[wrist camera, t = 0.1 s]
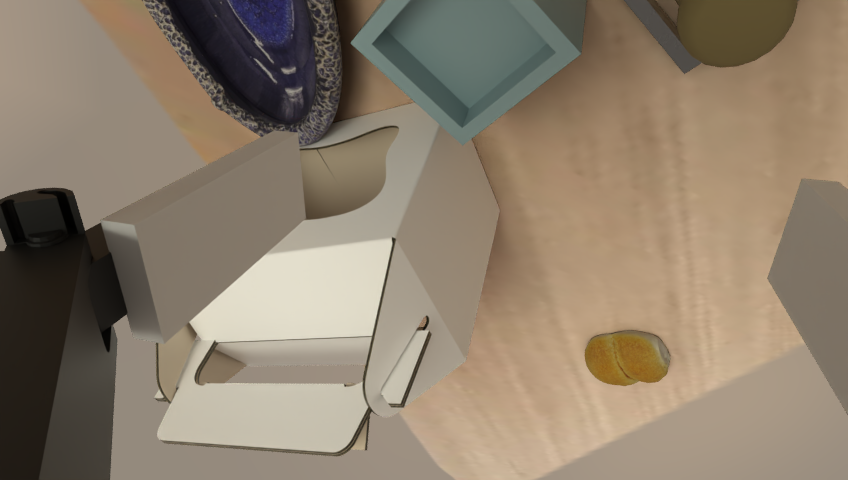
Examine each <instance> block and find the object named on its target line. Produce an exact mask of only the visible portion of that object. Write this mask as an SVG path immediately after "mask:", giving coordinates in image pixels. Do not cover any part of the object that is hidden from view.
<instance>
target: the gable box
mask: <svg viewBox="0 0 848 480" xmlns="http://www.w3.org/2000/svg"><path fill="white" fill-rule="evenodd" d="M299 149H300V160H301V170H302V181H303V192H304V203H305V213H306V219H305V220H304V221H303V222H301V223H300V224H299V225H298V226H297V227H296V228H295V229H294V230H292V231H291V232H290V233H289V234H288V235H287V236H286V237H285V238H283V239H282V240H281V241H280V242H279V243H278V244H277V245H276V246H274V247H273V248H272V249H271V250H270V251H269V252H268V253H266V254H265V255H264V256H263V257H262V258H261V259H260V260H259V261H257V262H256V263H255V264H254V265H253V266H252V267H251V268H250V269H248V270H247V271H246V272H245V273H244V274H243V275H242V276H241V277H239V278H238V279H237V280H236V281H235V282H234V283H233V284H232V285H230V286H229V287H228V288H227V289H226V290H225V291H224V292H223V293H221V294H220V295H219V296H218V297H217V298H216V299H215V300H213V301H212V302H211V303H210V304H209V305H208V306H207V307H206V308H204V309H203V310H202V311H201V312H200V313H199V314H198V315H197V316H195V317H194V318H193V319H192V320H191V321H190V322H189V323H188V324H186V325H185V326H184V327H183V328H182V329H181V330H180V331H179V332H177V333H176V334H175V335H174V336H173V337H172V338H171V339H169V340H168V341H167V342H166V343H165V344H161V343H156V376H157V383H158V387H159V391H158V392H157V394H156V396H155V399H156V400H157V401H165V402H166V401H167V402H169V403H170V406H169V408H168V410H167V412H166V414H165V416H164V418H163V420H162V422H161V425H160V426H159V429H158V432H157V436H158V438H159V439H160V440H161V441H163V442H164V443H167V444H180V445H193V446H206V447H220V448H233V449H246V450H260V451H272V452H286V453H299V454H312V455H325V456H341V455H343V454H345V453H347V452H348V451H349V450H350V449H355V450H367V442H368V431H369V419H370V413H371V411H372V412H373V413H375V414H376V415H379V416H381V417H390V416H393V415H395V414H396V413H398V412H399V411H400V410H402V409H403V408H404V407H406V406H407V405H408V404H410V403H411V402H412V401H414V400H415V399H416V398H418V397H419V396H420V395H422V394H423V393H424V392H426V391H427V390H428V389H430V388H431V387H432V386H433V385H435V384H436V383H437V382H439V381H440V380H441V379H443V378H444V377H445V376H447V375H448V374H449V373H451V372H452V371H453V370H455V369H456V368H457V367H459V366H460V365H461V364H463V363H464V362H465V361H466V359H467V355H468V350H469V346H470V341H471V337H472V333H473V328H474V324H475V319H476V315H477V310H478V306H479V302H480V297H481V293H482V288H483V284H484V279H485V275H486V271H487V266H488V262H489V257H490V253H491V248H492V244H493V240H494V235H495V231H496V226H497V222H498V217H499V213H500V209H499V206H498V204H497V201H496V199H495V196H494V194H493V191H492V189H491V186H490V184H489V181H488V179H487V176H486V174H485V171H484V169H483V166H482V164H481V161H480V159H479V156H478V154H477V151H476V149H475V146H474V144H473V141H472V139H471V140H469V141H468V142H467V143H465V144H464V145H463V146H462V145H461V144H460V143H459V142H458V141H457V140H456V139H455V138H454V137H452V136H451V135H450V134H449V133H448V132H447V131H446V130H445V129H444V128H443V127H441V126H440V125H439V124H438V123H437V122H436V121H435V120H434V119H433V118H432V117H431V116H429V115H428V114H427V113H426V112H425V111H424V110H423V109H422V108H421V107H420V106H419V105H417V104H416V103H415V102H414V103H410V104H407V105H403V106H399V107H395V108H391V109H387V110H383V111H379V112H375V113H371V114H367V115H363V116H359V117H355V118H351V119H347V120H343V121H339V122H335V123H331V125H330V127H329V129H328V130H327V132H326V133H325V134H324V135H323V136H322V137H321V138H320V139H319V140H318V141H316V142H314V143H312V144H310V145H307V146H301V147H299ZM424 316H426V318H427V321H426V324H425V326H424V327H419V328H418V326H419V324H420V323H421V321H422V319H423V318H424ZM196 335H198V336H199V337H200V339H201V340H197V341H194V340H195V338H196ZM246 365H248V366H300V365H366V366H365V370H364V375H363V381H362V382H361V383H359V384H354V383H347V384H346V385H345V384H243V383H242V384H241V383H239V384H238V383H225V382H226V381H228V380H229V379H230V378H231V377H233V376H234V375H235V374H236V373H238V372H239V371H240V370H241V369H243V368H244V367H245V366H246ZM381 393H382V395H381Z"/></svg>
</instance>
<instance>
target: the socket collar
mask: <svg viewBox="0 0 848 480" xmlns="http://www.w3.org/2000/svg"><path fill="white" fill-rule="evenodd" d="M624 1H625V2H626V3H627V5H628V6H629V7H630V8H631V10H632V11H633V12H634V13H635V14H636V16H637V17H638V18H639V19H640V21H641V22H642V23H643V24H644V25H645V27H646V28H647V29H648V30H649V31H650V33H651V34H652V35H653V36H654V38H655V39H656V40H657V41H658V42H659V44H660V45H661V46H662V47H663V49H664V50H665V51H666V52H667V53H668V55H669V56H670V57H671V58H672V59H673V61H674V62H675V63H676V64H677V66H678V67H679V68H680V69H681V70H682V72H683V73H684V74H685V73H687V72H688V71H690V70H691V69H693V68H694V67H696V66H698V65H699V64H701V63H702V62H700V61H698V60H697V59H695V58H693V57H692V56H691V55H690V54H689V53H688V51H687V50H686V49H685V47H684V46H683V45H682V44H681V41H680V37H679V33H678V30H677V27H676V26H675V24H674V23H673V22H672V21H671V19H670V18H669V17H668V16H667V14H666V13H665V12H664V11H663V9H662V8H661V7H660V6H659V4H658V3H657V2H656V0H624Z"/></svg>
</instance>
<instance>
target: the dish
mask: <svg viewBox="0 0 848 480" xmlns="http://www.w3.org/2000/svg"><path fill="white" fill-rule="evenodd" d="M142 1H143V3H144V4H145V6H146V7H147V9H148V11H149V12H150V14H151V16H152V17H153V19H154V20H155V22H156V23H157V25H158V26H159V28H160V29H161V31H162V32H163V34H164V35H165V37H166V38H167V39H168V41H169V42H170V44H171V45H172V47H173V48H174V49H175V51H176V52H177V53H178V55H179V56H180V58H181V59H182V60H183V62H184V63H185V64H186V66H187V67H188V68H189V70H190V71H191V72H192V74H193V75H194V76H195V78H196V79H197V80H198V82H199V83H200V84H201V86H202V87H203V88H204V90H205V91H206V92H207V93H208V95H209V96H210V97H211V102H212V104H213V105H214V106H215V107H216V108H217V109H219V110H221V111H224V112H226V113H227V114H228V115H230V116H231V117H232V118H234V119H235V120H237V121H238V122H239V123H241V124H242V125H244V126H245V127H247V128H248V129H250V130H251V131H253V132H254V133H256V134H258V135H259V136H261V137H263V136H265V135H267V134H268V133H270V132H272V131H274V130H275V131H286V132H297V133H298V138H299V147H301V146H307V145H310V144H312V143H314V142H316V141H318V140H319V139H320V138H321V137H322V136H323V135H324V134H325V133H326V132H327V130H328V129H329V127H330V125H331V123H332V122H333V120H334V117H335V115H336V112H337V109H338V106H339V100H340V94H341V88H342V53H341V39H340V29H339V22H338V16H337V9H336V4H335V0H142Z"/></svg>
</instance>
